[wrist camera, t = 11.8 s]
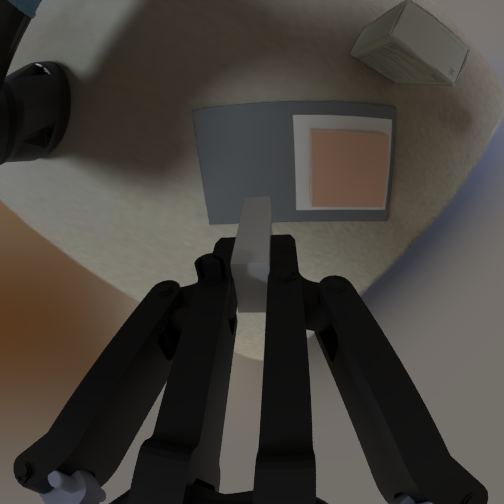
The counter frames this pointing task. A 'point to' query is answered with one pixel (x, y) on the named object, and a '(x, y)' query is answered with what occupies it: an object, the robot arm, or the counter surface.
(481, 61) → the counter surface
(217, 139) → the mat
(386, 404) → the robot arm
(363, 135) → the tile
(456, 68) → the skincare box
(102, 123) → the counter surface
